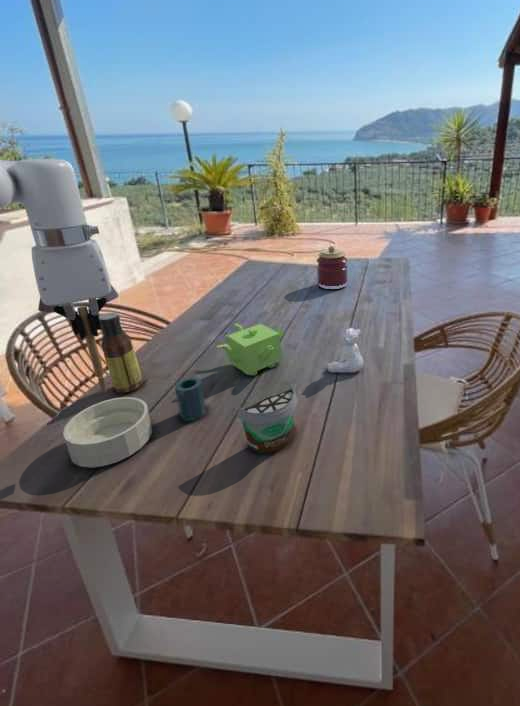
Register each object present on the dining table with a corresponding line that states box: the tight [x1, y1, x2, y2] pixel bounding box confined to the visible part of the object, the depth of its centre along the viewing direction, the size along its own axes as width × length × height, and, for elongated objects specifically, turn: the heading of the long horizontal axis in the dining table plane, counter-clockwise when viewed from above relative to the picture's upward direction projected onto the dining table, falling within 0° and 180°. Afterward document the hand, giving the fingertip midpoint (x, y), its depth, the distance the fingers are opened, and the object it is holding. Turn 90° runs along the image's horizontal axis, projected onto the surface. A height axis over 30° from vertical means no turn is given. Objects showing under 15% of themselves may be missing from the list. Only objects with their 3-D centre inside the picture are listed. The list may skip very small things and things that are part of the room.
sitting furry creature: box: [327, 327, 365, 374], centre depth 104 cm, size 10×9×12 cm
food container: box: [236, 384, 298, 454], centre depth 77 cm, size 12×6×10 cm, turn 129°
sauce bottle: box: [98, 312, 143, 394], centre depth 94 cm, size 7×6×20 cm
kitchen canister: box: [316, 245, 348, 286], centre depth 166 cm, size 13×13×18 cm
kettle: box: [216, 322, 286, 377], centre depth 105 cm, size 15×14×11 cm
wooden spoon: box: [76, 305, 107, 393], centre depth 72 cm, size 1×3×17 cm, turn 36°
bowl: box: [62, 396, 153, 469], centre depth 78 cm, size 14×14×6 cm
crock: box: [174, 376, 207, 423], centre depth 86 cm, size 5×5×8 cm
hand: (89, 334), depth 71 cm, fingers closed on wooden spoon, 1 cm apart
